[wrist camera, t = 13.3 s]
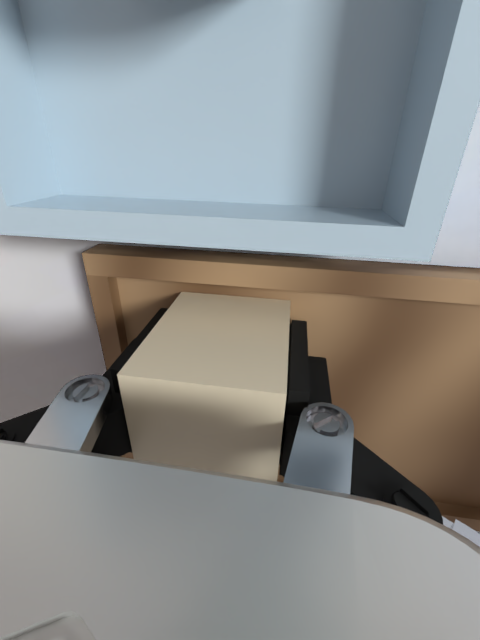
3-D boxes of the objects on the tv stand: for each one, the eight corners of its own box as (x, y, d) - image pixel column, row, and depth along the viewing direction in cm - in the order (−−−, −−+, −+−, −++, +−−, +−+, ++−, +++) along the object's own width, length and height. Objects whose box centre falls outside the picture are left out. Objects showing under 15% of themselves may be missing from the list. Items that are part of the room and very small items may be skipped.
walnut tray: (713, 283, 10) (762, 299, 9) (536, 516, 16) (553, 542, 15) (99, 243, 12) (81, 253, 11) (139, 458, 18) (130, 478, 17)
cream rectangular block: (290, 300, 12) (286, 394, 7) (281, 388, 14) (274, 504, 9) (181, 291, 12) (117, 374, 8) (187, 377, 14) (138, 483, 10)
